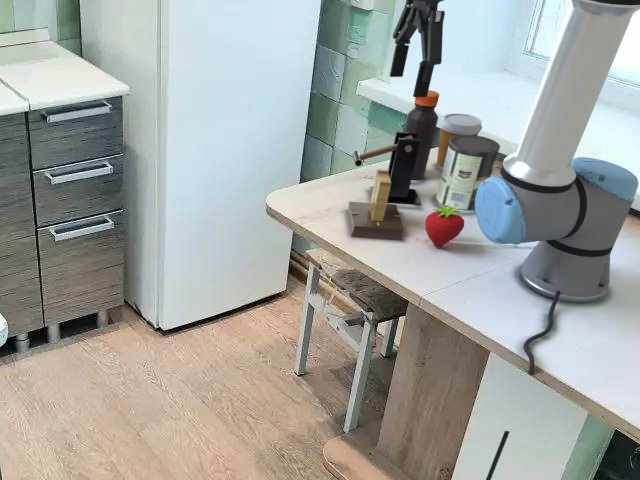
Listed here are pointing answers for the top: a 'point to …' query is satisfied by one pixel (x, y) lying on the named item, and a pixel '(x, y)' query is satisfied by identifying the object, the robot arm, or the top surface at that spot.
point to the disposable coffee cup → (455, 131)
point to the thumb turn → (380, 195)
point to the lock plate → (375, 222)
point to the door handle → (374, 153)
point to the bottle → (423, 129)
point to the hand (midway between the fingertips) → (407, 86)
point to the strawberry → (443, 226)
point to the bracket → (403, 169)
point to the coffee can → (465, 170)
